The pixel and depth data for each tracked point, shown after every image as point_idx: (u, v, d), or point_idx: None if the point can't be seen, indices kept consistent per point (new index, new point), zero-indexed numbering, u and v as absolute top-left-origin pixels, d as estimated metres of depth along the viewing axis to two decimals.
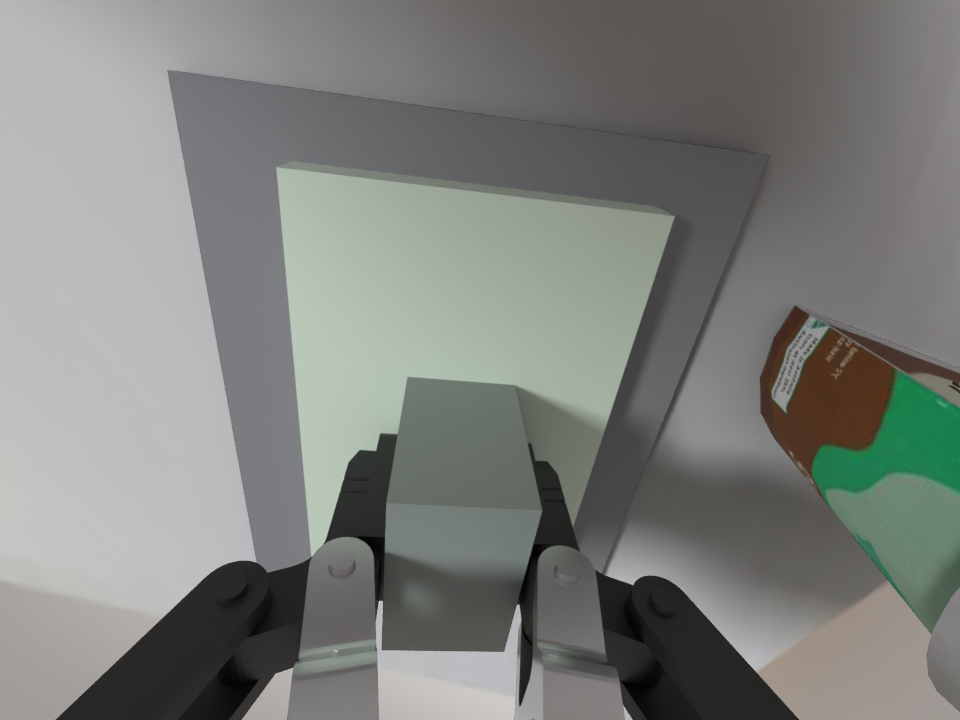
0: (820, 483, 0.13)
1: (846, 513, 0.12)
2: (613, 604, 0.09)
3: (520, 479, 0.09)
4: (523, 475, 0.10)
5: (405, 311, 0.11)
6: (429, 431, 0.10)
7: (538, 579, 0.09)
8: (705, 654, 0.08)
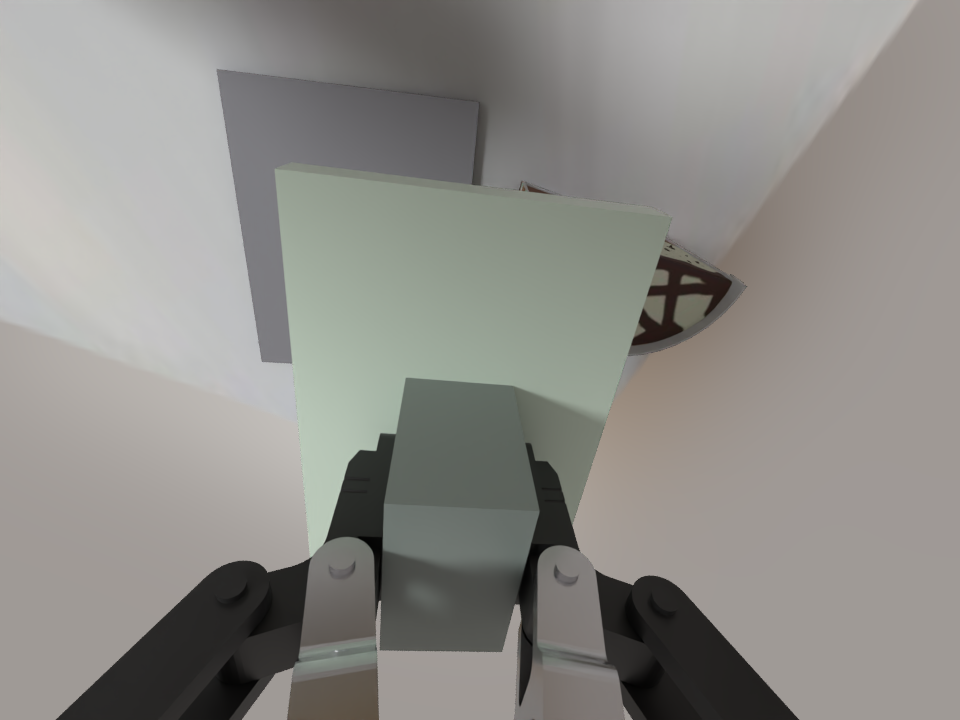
0: None
1: None
2: (613, 604, 0.09)
3: (518, 480, 0.09)
4: (521, 475, 0.10)
5: (403, 312, 0.11)
6: (427, 432, 0.10)
7: (538, 579, 0.09)
8: (705, 654, 0.08)
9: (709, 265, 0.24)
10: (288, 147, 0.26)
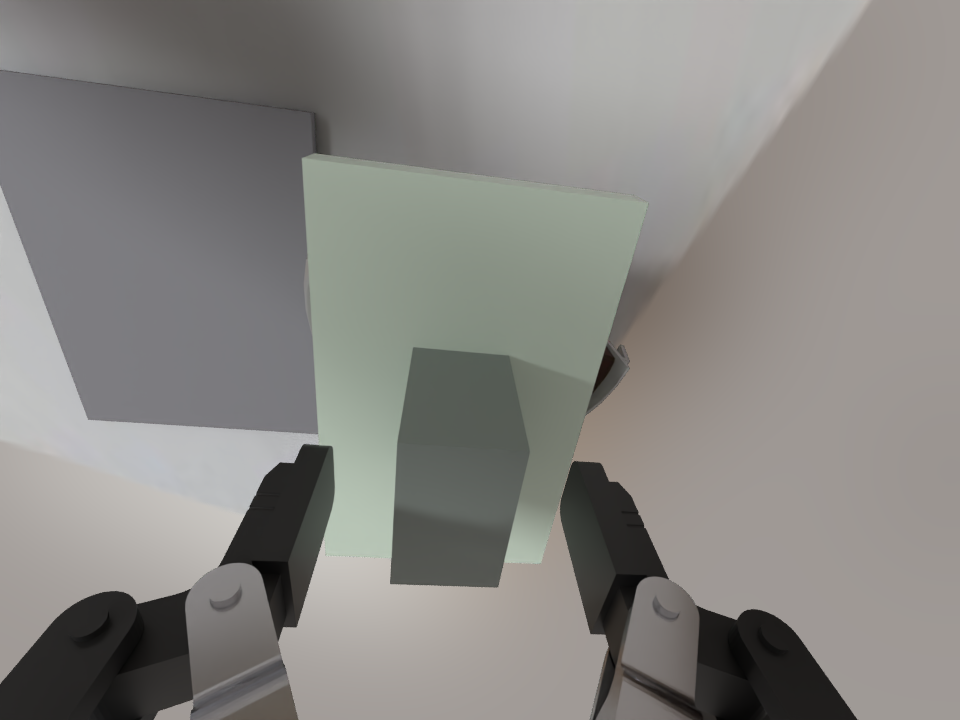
0: None
1: None
2: (715, 639, 0.09)
3: (512, 428, 0.11)
4: (515, 425, 0.11)
5: (412, 287, 0.13)
6: (433, 390, 0.12)
7: (640, 614, 0.09)
8: (812, 703, 0.08)
9: None
10: (70, 165, 0.20)
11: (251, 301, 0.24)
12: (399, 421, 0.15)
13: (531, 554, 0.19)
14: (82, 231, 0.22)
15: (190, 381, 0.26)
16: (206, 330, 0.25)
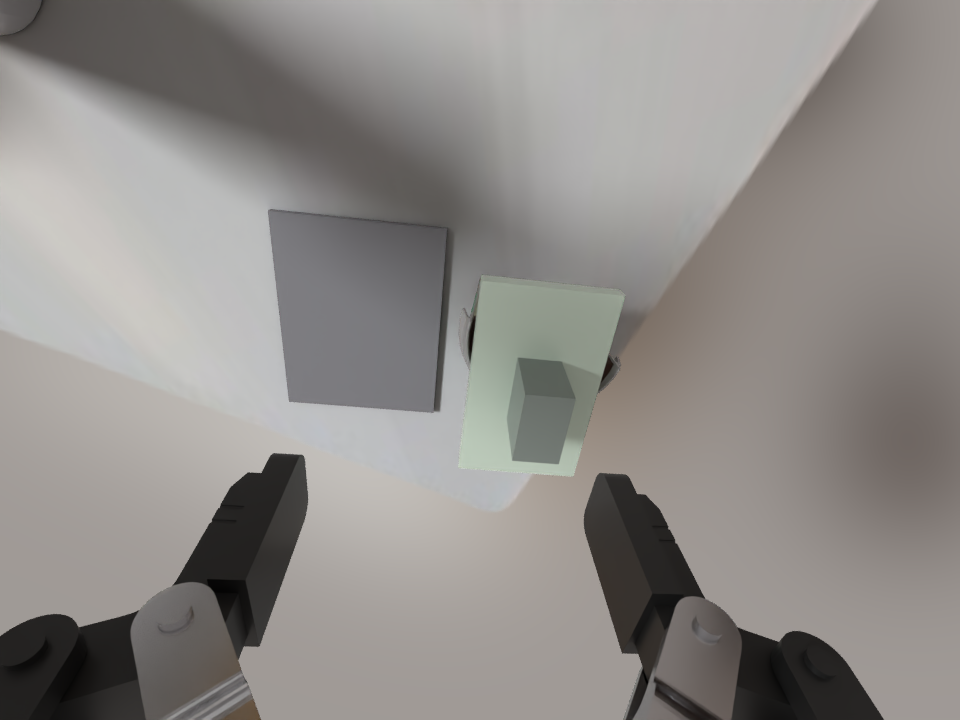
0: None
1: None
2: (757, 662, 0.09)
3: (567, 391, 0.27)
4: (568, 389, 0.27)
5: (520, 330, 0.29)
6: (532, 376, 0.28)
7: (681, 638, 0.08)
8: None
9: None
10: (314, 258, 0.37)
11: (399, 330, 0.40)
12: (506, 393, 0.31)
13: (568, 470, 0.35)
14: (312, 291, 0.38)
15: (354, 378, 0.43)
16: (370, 347, 0.41)
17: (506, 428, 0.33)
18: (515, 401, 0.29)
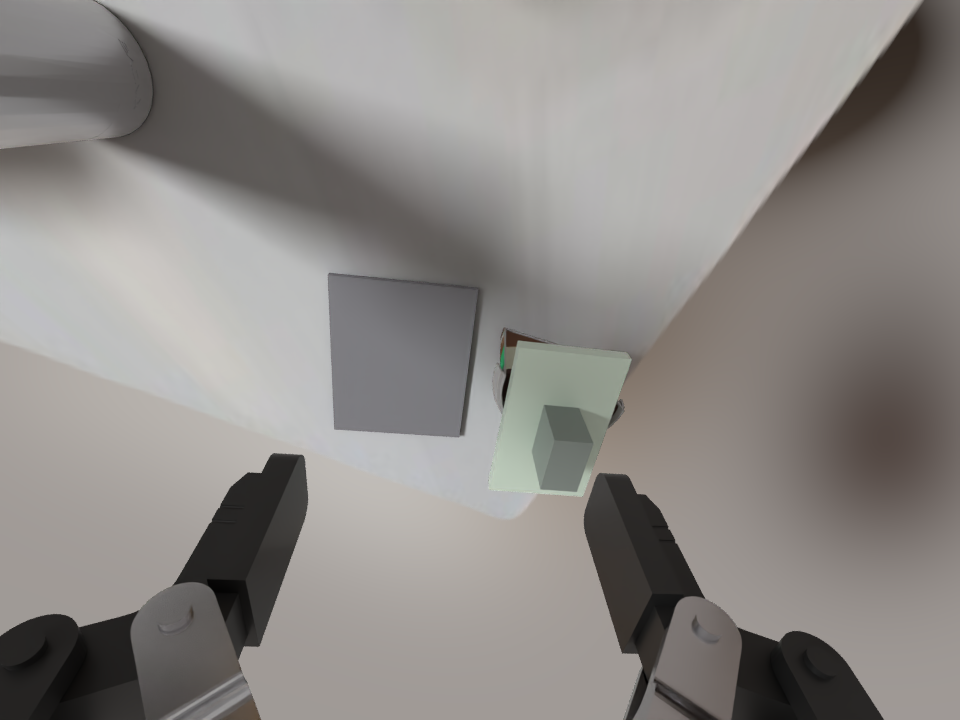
0: None
1: None
2: (757, 663, 0.09)
3: (586, 436, 0.34)
4: (587, 435, 0.34)
5: (547, 384, 0.36)
6: (558, 422, 0.35)
7: (681, 638, 0.08)
8: None
9: None
10: (364, 312, 0.43)
11: (433, 370, 0.47)
12: (533, 432, 0.38)
13: (579, 491, 0.42)
14: (360, 339, 0.45)
15: (393, 409, 0.49)
16: (407, 384, 0.48)
17: (530, 459, 0.40)
18: (542, 441, 0.36)
